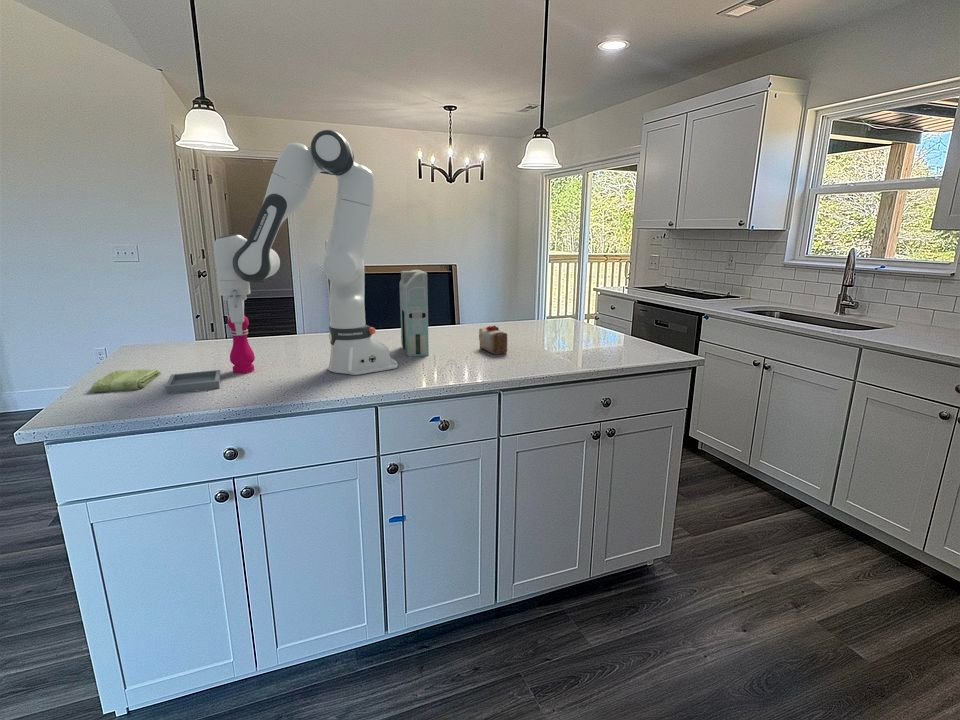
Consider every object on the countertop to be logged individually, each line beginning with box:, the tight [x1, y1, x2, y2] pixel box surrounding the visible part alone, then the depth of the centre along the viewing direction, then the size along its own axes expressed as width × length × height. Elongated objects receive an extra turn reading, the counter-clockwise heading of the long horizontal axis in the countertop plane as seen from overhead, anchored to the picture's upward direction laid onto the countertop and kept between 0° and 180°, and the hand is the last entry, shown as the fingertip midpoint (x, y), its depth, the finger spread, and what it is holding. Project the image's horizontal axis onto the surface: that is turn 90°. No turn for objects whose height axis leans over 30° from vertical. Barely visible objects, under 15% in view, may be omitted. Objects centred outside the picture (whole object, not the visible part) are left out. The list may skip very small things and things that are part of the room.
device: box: [399, 269, 430, 357], centre depth 184 cm, size 16×8×30 cm, turn 17°
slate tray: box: [165, 369, 222, 395], centre depth 144 cm, size 13×13×2 cm
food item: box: [478, 325, 508, 356], centre depth 189 cm, size 14×8×10 cm, turn 26°
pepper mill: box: [227, 315, 256, 374], centre depth 157 cm, size 7×7×20 cm
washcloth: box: [91, 368, 161, 393], centre depth 146 cm, size 13×18×3 cm
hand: (239, 332), depth 156 cm, fingers closed on pepper mill, 5 cm apart
